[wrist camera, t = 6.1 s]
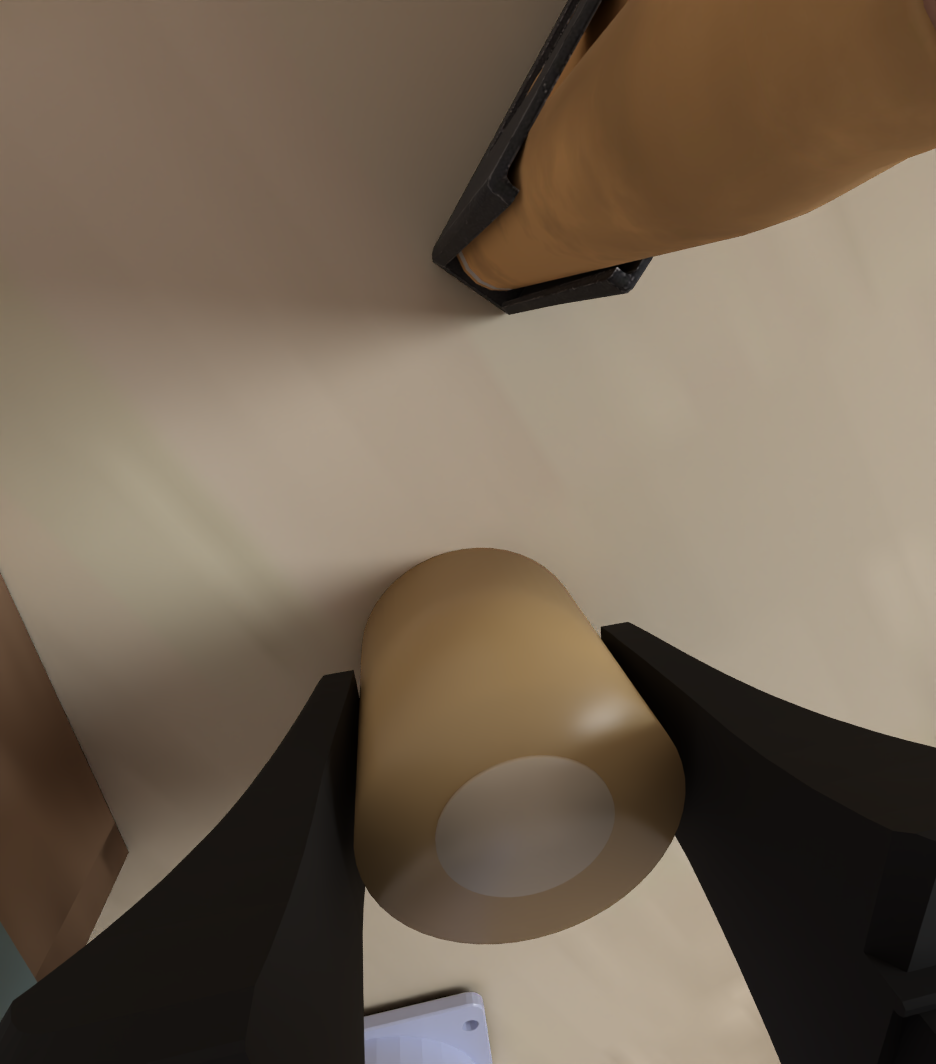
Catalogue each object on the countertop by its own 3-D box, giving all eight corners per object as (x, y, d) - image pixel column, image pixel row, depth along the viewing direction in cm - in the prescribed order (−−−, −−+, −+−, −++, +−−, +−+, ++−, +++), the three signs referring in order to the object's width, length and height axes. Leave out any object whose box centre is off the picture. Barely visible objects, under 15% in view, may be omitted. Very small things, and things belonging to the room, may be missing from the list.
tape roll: (582, 717, 14) (681, 909, 10) (380, 756, 14) (384, 978, 9) (576, 531, 13) (695, 658, 8) (341, 567, 12) (320, 728, 7)
